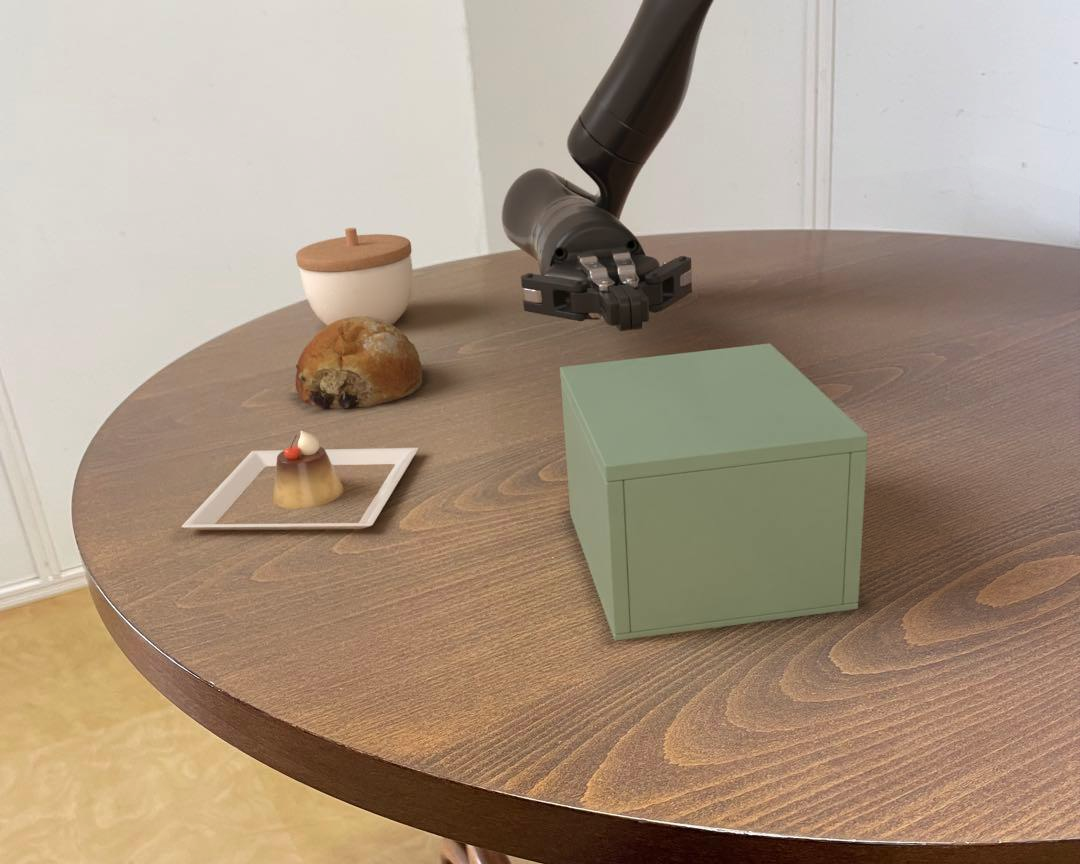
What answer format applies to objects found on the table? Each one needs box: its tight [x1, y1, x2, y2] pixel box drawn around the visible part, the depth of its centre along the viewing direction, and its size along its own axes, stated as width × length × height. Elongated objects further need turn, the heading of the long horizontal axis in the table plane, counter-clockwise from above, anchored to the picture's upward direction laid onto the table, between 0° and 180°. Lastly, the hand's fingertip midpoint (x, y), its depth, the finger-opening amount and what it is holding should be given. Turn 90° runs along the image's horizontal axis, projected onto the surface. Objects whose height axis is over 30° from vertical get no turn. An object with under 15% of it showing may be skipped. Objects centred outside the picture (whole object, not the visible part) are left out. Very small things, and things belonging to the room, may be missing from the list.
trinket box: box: [295, 227, 414, 326], centre depth 107 cm, size 11×11×9 cm
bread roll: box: [295, 316, 423, 410], centre depth 90 cm, size 10×10×8 cm
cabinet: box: [559, 342, 869, 641], centre depth 59 cm, size 15×12×10 cm
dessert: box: [181, 430, 419, 531], centre depth 72 cm, size 12×12×5 cm
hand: (631, 315), depth 73 cm, fingers closed
